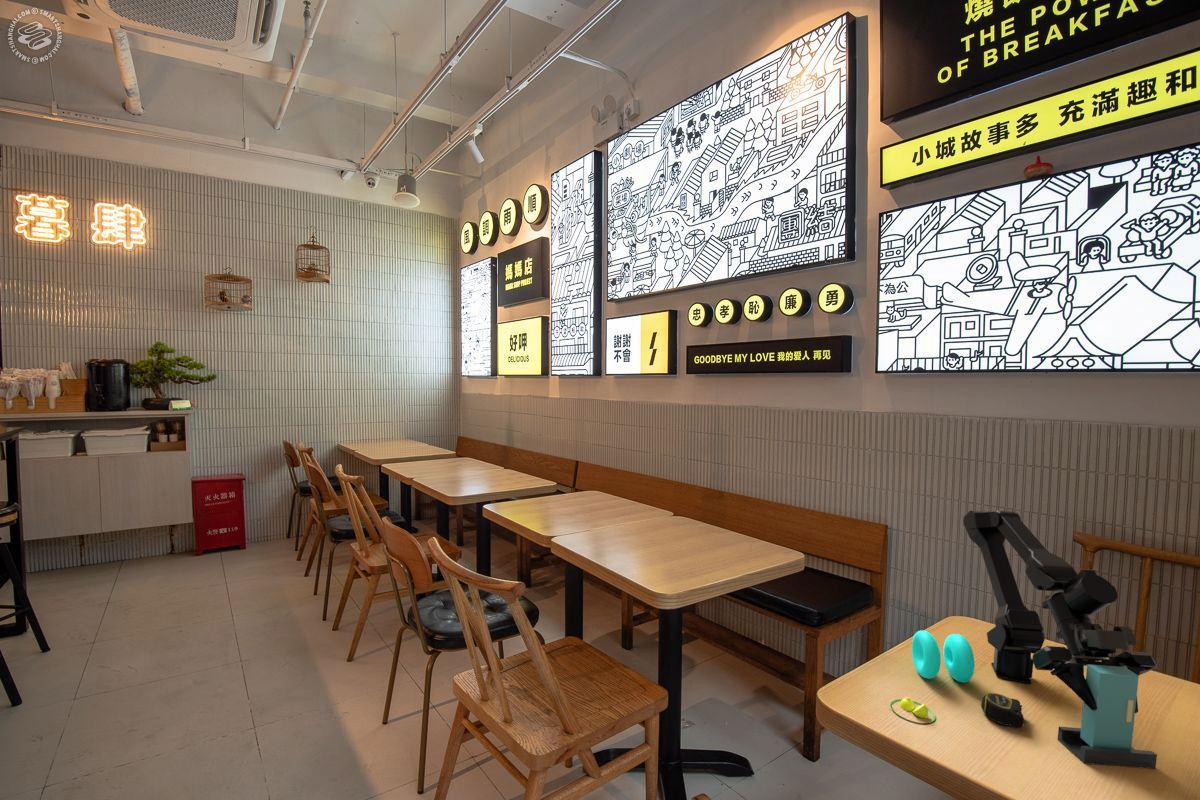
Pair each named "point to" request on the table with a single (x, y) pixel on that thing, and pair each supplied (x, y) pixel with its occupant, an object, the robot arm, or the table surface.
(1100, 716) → the door panel
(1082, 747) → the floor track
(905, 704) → the lemon
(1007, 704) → the tape measure
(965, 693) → the table surface
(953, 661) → the donuts
